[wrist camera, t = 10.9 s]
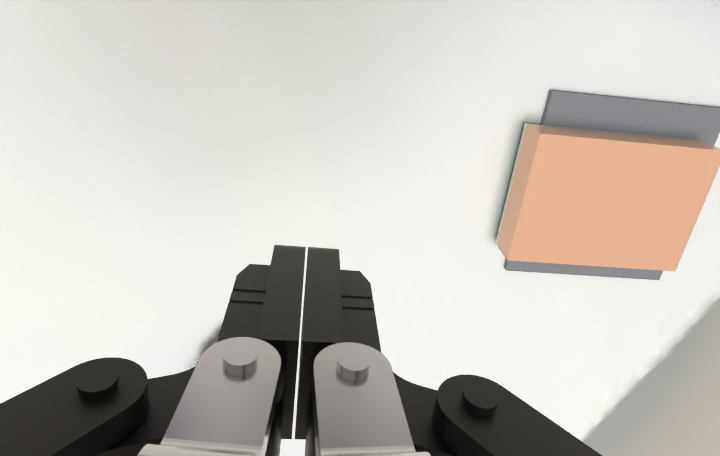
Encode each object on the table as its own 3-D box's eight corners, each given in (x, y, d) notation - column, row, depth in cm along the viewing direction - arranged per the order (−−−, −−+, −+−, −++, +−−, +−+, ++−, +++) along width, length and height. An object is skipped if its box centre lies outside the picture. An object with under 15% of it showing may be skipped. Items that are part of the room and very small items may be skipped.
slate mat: (549, 89, 37) (552, 91, 37) (724, 107, 39) (728, 109, 39) (504, 267, 44) (505, 270, 43) (655, 277, 45) (659, 280, 45)
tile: (540, 133, 35) (725, 150, 37) (524, 123, 38) (698, 139, 39) (507, 260, 39) (675, 271, 41) (495, 242, 42) (653, 253, 44)
